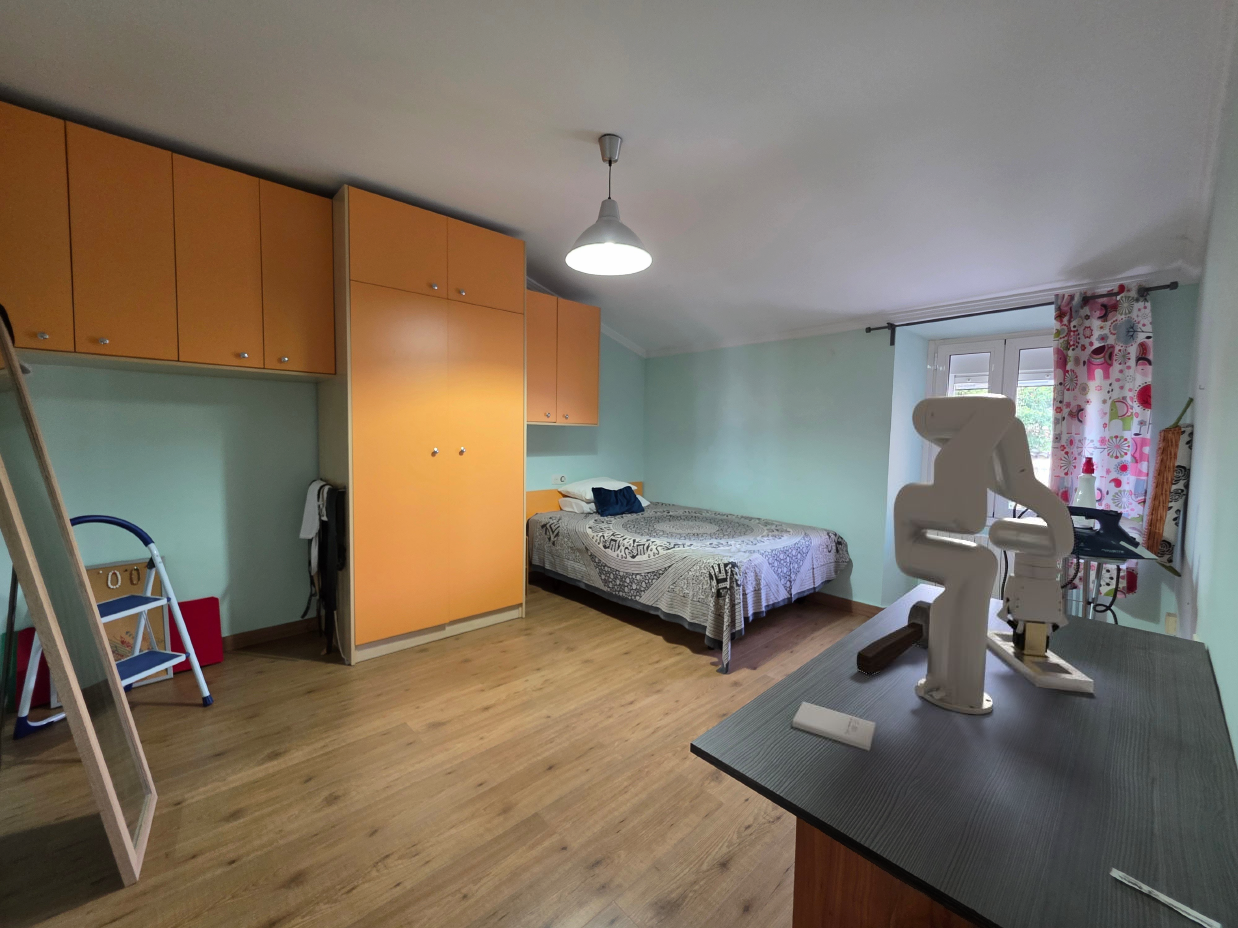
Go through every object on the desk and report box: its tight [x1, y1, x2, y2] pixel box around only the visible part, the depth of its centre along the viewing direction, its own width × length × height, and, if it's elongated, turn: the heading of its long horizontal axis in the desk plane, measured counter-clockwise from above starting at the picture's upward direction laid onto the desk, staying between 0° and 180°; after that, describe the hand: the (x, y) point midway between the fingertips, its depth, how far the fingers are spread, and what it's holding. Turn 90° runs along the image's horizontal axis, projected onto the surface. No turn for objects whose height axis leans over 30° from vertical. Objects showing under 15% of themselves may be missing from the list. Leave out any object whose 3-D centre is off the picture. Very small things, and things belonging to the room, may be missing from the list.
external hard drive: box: [792, 701, 876, 751], centre depth 90 cm, size 2×8×12 cm
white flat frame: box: [987, 629, 1095, 694], centre depth 117 cm, size 26×10×2 cm, turn 167°
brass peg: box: [1015, 621, 1047, 658], centre depth 117 cm, size 4×4×9 cm
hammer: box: [856, 599, 932, 676], centre depth 118 cm, size 5×11×30 cm
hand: (1029, 648), depth 117 cm, fingers closed on brass peg, 3 cm apart
